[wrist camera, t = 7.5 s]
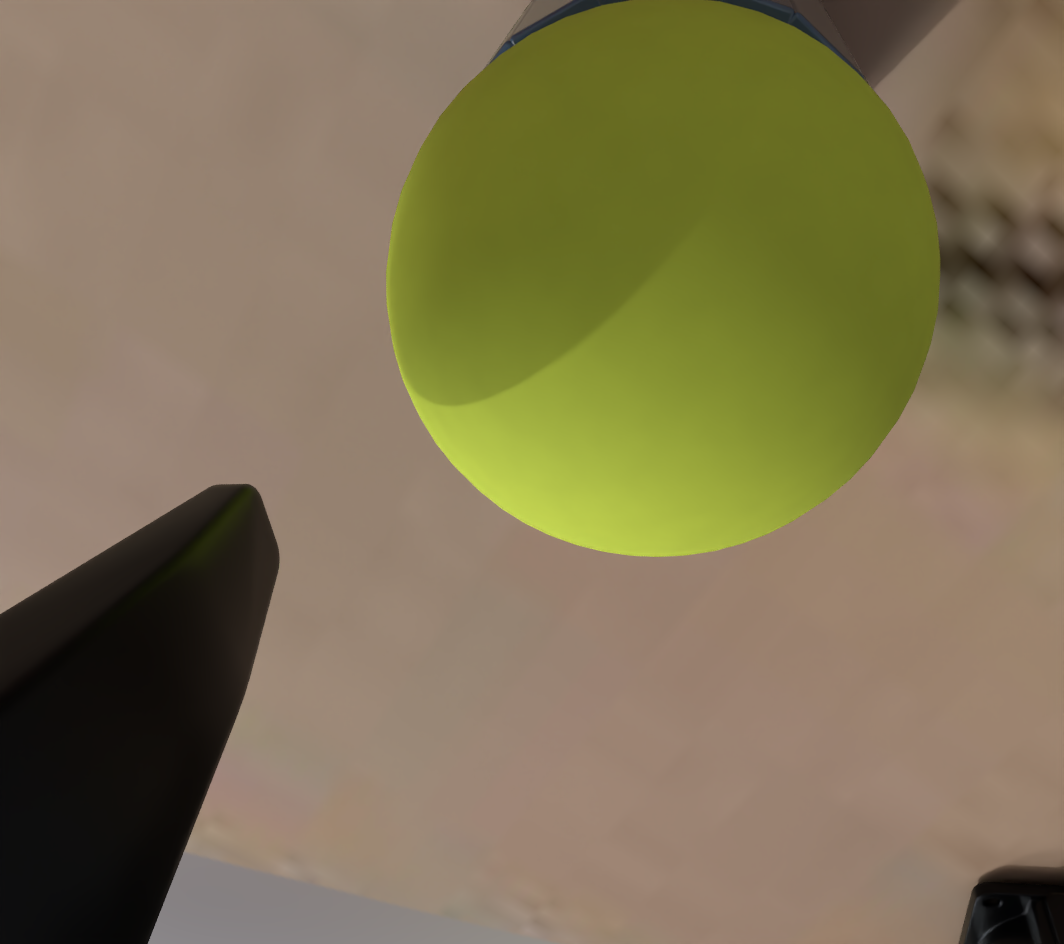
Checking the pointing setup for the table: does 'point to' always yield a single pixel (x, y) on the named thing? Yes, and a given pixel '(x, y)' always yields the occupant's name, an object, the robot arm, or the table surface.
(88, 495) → the table surface
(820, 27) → the tumbler
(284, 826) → the table surface
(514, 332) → the ball
